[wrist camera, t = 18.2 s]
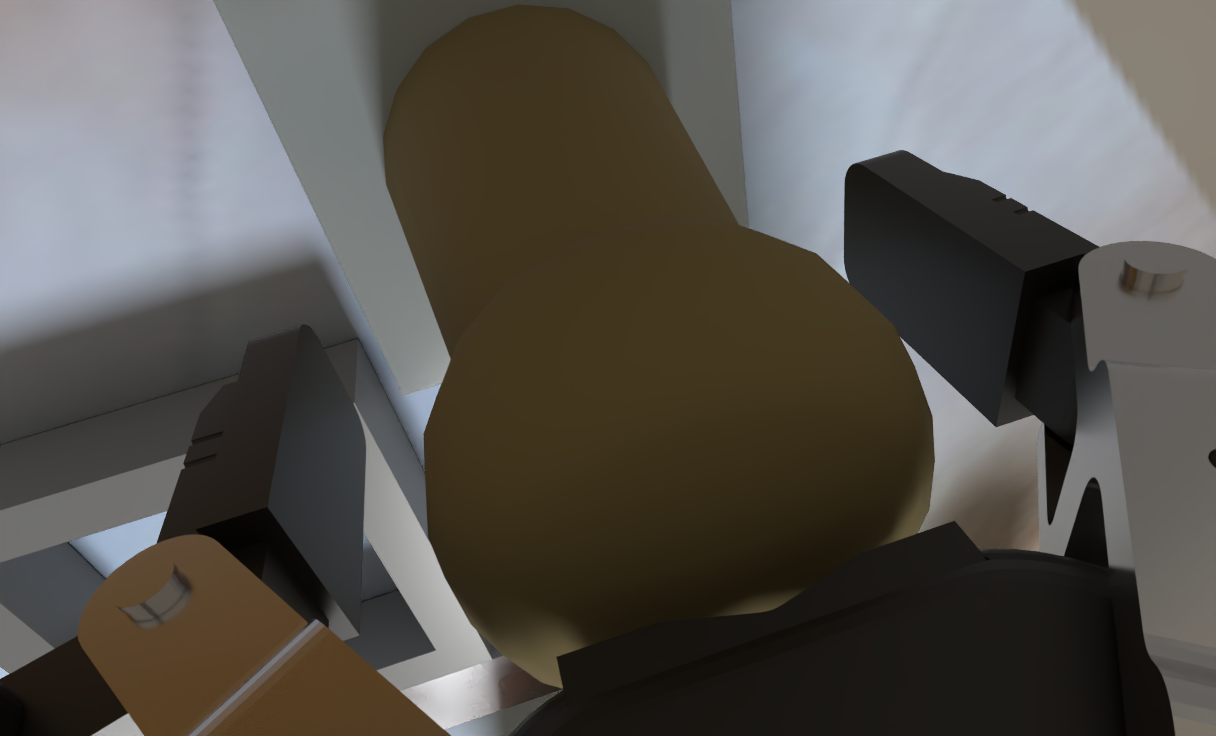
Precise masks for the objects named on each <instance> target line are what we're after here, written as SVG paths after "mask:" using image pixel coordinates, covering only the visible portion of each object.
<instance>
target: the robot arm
mask: <svg viewBox="0 0 1216 736" xmlns="http://www.w3.org/2000/svg"><path fill="white" fill-rule="evenodd" d="M844 264H845V270H846V274H847V278H848V280H849V283H850V284H851V285H852V286H853V287H854V288H855V289H856V290H857V291H858V292H859V293H860V294H861V295H862V296H863V297H864V298H865V299H867V300H868V301H869V302H870V303H871V304H872V305H873V306H874V307H875V308H876V309H877V310H878V311H879V312H880V313H881V314H882V315H884V316H885V317H886V318H887V319H888V320H889V321H890V322H891V323H892V324H893V325H894V327H895V329H896V331H897V333H898V335H899V336H900V337H901V338H902V339H903V340H904V341H905V342H906V343H907V344H908V345H909V346H911V347H912V348H913V349H914V350H915V351H916V352H917V353H918V354H919V355H920V356H921V357H922V358H923V359H924V360H925V361H926V362H927V363H929V364H930V365H931V366H932V367H933V368H934V369H935V370H936V371H937V372H938V373H939V374H940V375H941V376H942V377H943V378H944V379H946V380H947V381H948V382H949V383H950V384H951V385H952V386H953V387H954V388H955V389H956V390H957V391H958V392H959V393H960V394H961V395H962V396H964V397H965V398H966V399H967V400H968V401H969V402H970V403H971V404H972V405H973V406H974V407H975V408H976V409H977V410H978V411H979V412H980V413H982V414H983V415H984V416H985V417H986V418H987V419H988V420H989V421H990V422H991V423H992V424H993V425H994V426H995V427H998V426H1001V425H1004V424H1007V423H1010V422H1013V421H1016V420H1019V419H1022V418H1025V417H1028V416H1031V415H1035V416H1036V417H1037V418H1038V419H1039V420H1041V421H1042V422H1041V426H1040V430H1039V435H1038V440H1037V460H1038V503H1039V552H1037V551H1028V550H1018V549H978V548H977V547H976V546H975V544H974V543H973V542H972V541H971V540H970V539H969V537H968V536H967V535H966V534H965V533H964V532H963V530H962V529H961V528H960V527H959V526H958V524H957V523H956V522H955V521H953V522H950V523H947V524H944V525H941V526H938V527H935V528H933V529H930V530H927V531H924V532H921V533H918V534H915V535H912V536H909V537H906V538H903V539H900V540H897V541H894V542H892V543H889V544H886V545H883V546H880V547H877V548H874V549H871V550H868V551H865V552H862V553H860V554H858V555H857V556H855V557H854V558H852V559H851V560H849V561H848V562H846V563H845V564H843V565H842V566H840V567H839V568H837V569H836V570H834V571H832V572H831V573H829V574H828V575H826V576H825V577H823V578H822V579H820V580H819V581H817V582H816V583H814V584H813V585H811V586H810V587H808V588H807V589H805V590H804V591H802V592H801V593H799V594H798V595H796V596H795V597H793V598H792V599H790V600H789V601H787V602H786V603H784V604H783V605H781V606H779V607H777V608H775V609H773V610H770V611H766V612H760V613H749V614H739V615H728V616H718V617H707V618H697V619H687V620H676V621H666V622H657V623H654V624H651V625H648V626H645V627H642V628H639V629H637V630H634V631H631V632H628V633H625V634H622V635H619V636H616V637H613V638H610V639H607V640H604V641H601V642H598V643H595V644H593V645H590V646H587V647H584V648H581V649H578V650H575V651H572V652H569V653H566V654H563V655H560V656H557V662H558V667H559V672H560V676H561V681H562V686H563V690H562V691H561V692H560V693H558V694H557V695H555V696H554V697H552V698H551V699H549V700H548V701H546V702H545V703H544V704H543V705H541V706H540V707H539V708H538V709H537V710H535V711H534V712H533V713H532V714H531V715H529V716H528V717H527V718H526V719H525V720H524V721H523V722H522V723H521V724H520V725H519V726H518V727H517V728H516V729H515V730H514V731H513V732H512V733H511V734H510V735H509V736H1216V259H1215V258H1213V257H1211V256H1209V255H1207V254H1205V253H1202V252H1200V251H1197V250H1194V249H1191V248H1188V247H1184V246H1180V245H1175V244H1170V243H1163V242H1152V241H1129V242H1119V243H1114V244H1109V245H1105V246H1102V247H1099V246H1097V245H1095V244H1093V243H1091V242H1089V241H1088V240H1086V239H1084V238H1082V237H1080V236H1079V235H1077V234H1075V233H1073V232H1071V231H1070V230H1068V229H1066V228H1064V227H1062V226H1061V225H1059V224H1057V223H1055V222H1053V221H1052V220H1050V219H1048V218H1046V217H1044V216H1043V215H1041V214H1039V213H1037V212H1035V211H1030V212H1029V211H1028V207H1026V206H1024V205H1023V204H1021V203H1019V202H1017V201H1015V200H1014V199H1012V198H1010V199H1006V195H1005V194H1003V193H1001V192H999V191H997V190H996V189H994V188H992V187H990V186H988V185H986V184H985V183H983V182H981V181H979V180H975V179H971V178H967V177H963V176H959V175H955V174H951V173H946V172H943V171H941V170H939V169H937V168H936V167H934V166H932V165H930V164H929V163H927V162H925V161H923V160H922V159H920V158H918V157H916V156H915V155H913V154H911V153H909V152H907V151H905V150H899V151H896V152H892V153H889V154H886V155H882V156H879V157H875V158H872V159H869V160H865V161H862V162H858V163H855V164H853V165H851V166H850V167H849V169H848V171H847V173H846V177H845V199H844ZM191 442H192V446H189V448H188V451H187V454H186V457H185V460H184V463H183V464H184V466H185V469H181V472H180V475H179V478H178V481H177V484H176V487H175V490H174V493H173V496H172V499H171V502H170V505H169V508H168V511H167V514H166V517H165V520H164V523H163V526H162V529H161V532H160V535H159V538H158V541H157V544H155V545H153V546H151V547H149V548H147V549H145V550H143V551H142V552H140V553H138V554H137V555H135V556H134V557H132V558H131V559H129V560H128V561H126V562H125V563H124V564H122V565H121V566H120V567H119V568H118V569H116V570H115V571H114V572H113V573H112V574H111V575H110V576H109V577H108V578H107V579H106V580H105V581H104V582H103V583H102V584H101V585H100V586H99V587H98V589H97V590H96V591H95V592H94V594H93V595H92V597H91V598H90V600H89V601H88V603H87V605H86V606H85V608H84V610H83V612H82V615H81V618H80V621H79V625H78V636H76V637H74V638H73V639H71V640H69V641H67V642H66V643H64V644H62V645H60V646H59V647H57V648H55V649H53V650H51V651H50V652H48V653H46V654H44V655H43V656H41V657H39V658H37V659H35V660H34V661H32V662H30V663H28V664H26V665H25V666H23V667H21V668H19V669H18V670H16V671H14V672H12V673H10V674H9V675H7V676H5V677H3V678H1V679H0V736H451V735H450V734H448V733H447V732H446V731H445V730H444V729H443V728H442V727H440V726H439V725H438V724H437V723H436V722H435V721H434V720H432V719H431V718H430V717H429V716H428V715H427V714H426V713H425V712H423V711H422V710H421V709H420V708H419V707H418V706H417V705H415V704H414V703H413V702H412V701H411V700H410V699H409V698H407V697H406V696H405V695H404V694H403V693H402V692H401V691H399V690H398V689H397V688H396V687H395V686H394V685H393V684H391V683H390V682H389V681H388V680H387V679H386V678H385V677H383V676H382V675H381V674H380V673H379V672H378V671H377V670H375V669H374V668H373V667H372V666H371V665H370V664H369V663H367V662H366V661H365V660H364V659H363V658H362V657H361V656H359V655H358V654H357V653H356V652H355V651H354V650H353V649H352V648H350V647H349V646H348V645H347V644H346V643H345V642H344V640H348V639H351V638H354V637H357V636H360V612H361V584H362V556H363V527H364V499H365V470H366V440H365V435H364V430H363V427H362V423H361V420H360V417H359V415H358V412H357V410H356V408H355V406H354V404H353V402H352V400H351V398H350V397H349V395H348V393H347V391H346V389H345V387H344V385H343V384H342V382H341V380H340V378H339V376H338V374H337V372H336V371H335V369H334V367H333V365H332V363H331V361H330V359H329V358H328V356H327V354H326V352H325V350H324V348H323V346H322V345H321V343H320V341H319V339H318V337H317V336H316V334H315V333H314V331H313V330H312V329H311V328H310V327H309V326H307V325H305V324H303V325H300V326H297V327H293V328H290V329H286V330H283V331H280V332H276V333H273V334H269V335H266V336H263V337H259V338H256V339H253V340H250V342H249V343H248V345H247V349H246V353H245V356H244V360H243V363H242V367H241V370H240V374H239V377H238V381H236V382H233V383H229V384H226V385H223V386H222V387H221V389H220V390H219V391H218V392H217V393H216V395H215V396H214V397H213V398H212V399H211V401H210V402H209V403H208V404H207V406H206V407H205V408H204V409H203V410H202V412H201V413H200V415H199V418H198V421H197V424H196V427H195V430H194V433H193V436H192V439H191Z"/></svg>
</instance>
